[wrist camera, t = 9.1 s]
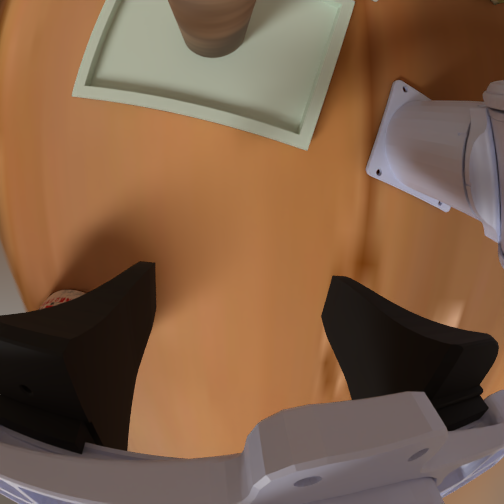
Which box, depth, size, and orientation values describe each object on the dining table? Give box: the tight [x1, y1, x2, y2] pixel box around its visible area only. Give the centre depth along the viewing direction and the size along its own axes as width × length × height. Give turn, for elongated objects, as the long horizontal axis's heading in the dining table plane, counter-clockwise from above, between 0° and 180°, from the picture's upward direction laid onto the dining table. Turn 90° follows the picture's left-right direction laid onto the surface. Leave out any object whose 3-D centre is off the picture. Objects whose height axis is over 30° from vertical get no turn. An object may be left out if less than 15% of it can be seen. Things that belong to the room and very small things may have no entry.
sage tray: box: [72, 0, 355, 151], centre depth 15 cm, size 16×12×2 cm
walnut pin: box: [168, 0, 256, 58], centre depth 11 cm, size 4×4×9 cm
